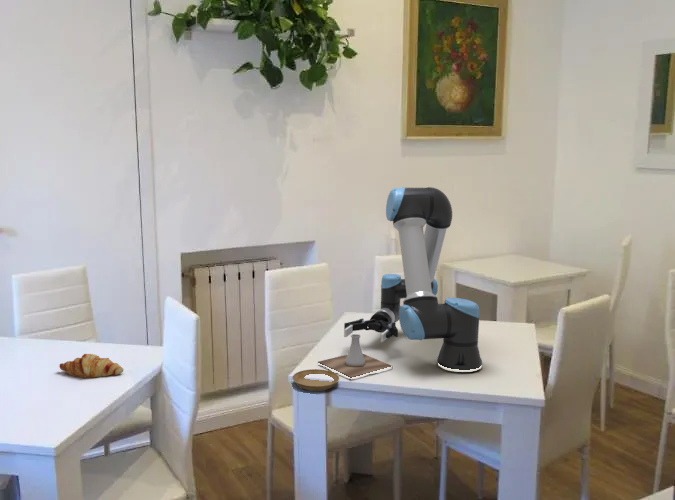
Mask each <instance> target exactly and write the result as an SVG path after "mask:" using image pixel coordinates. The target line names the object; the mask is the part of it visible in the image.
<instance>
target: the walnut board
mask: <svg viewBox="0 0 675 500" xmlns="http://www.w3.org/2000/svg"><path fill="white" fill-rule="evenodd" d="M362 354H363V357H364V360H365V363H366V364H364V365H363V366H356V367H354V366H347V365H346V364H345V363H344V362H345V360H346V357H347V355H348V354H344V355H341V356H336V357H331V358H328V359H323V360H319V361H317V364H318V363H320V364H322V365H325V366H327V367H329V368H331V369H334V370H336V371H338V372H340V373H342V374H344V375H346V376H348V377H350V378H352V377H356V376H360V375H363V374H366V373H370V372H373V371H377V370H380V369H384V368H387V367H391V366H392V365H391V364H389V363H386V362H383V361H381V360H379V359H377V358H374V357H372V356H369V355H367V354H365V353H362Z"/></svg>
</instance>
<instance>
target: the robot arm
mask: <svg viewBox="0 0 675 500" xmlns="http://www.w3.org/2000/svg"><path fill="white" fill-rule="evenodd" d="M385 216H386V220H388V221H389V222H392V225H393V226H392V227H393V229H395V230H396V231H398V237H399V246H400V253H401V260H402V267H403V276H404V278H402V276H401V275H400V274H397V273H386V274H384V275H382V276H381V284H380V309H379V310H378V311H376V312H374V313H373V314H372V315H371V317H370V319H368V320H364V318H360V319H357V320H353V321H348V322H344V323H343V324H344V325H343V326H344V327H343V328H344V329H343V337H344V338H347V337H348V336H351V335H352V334H353V333H354V332H356V331H363V330H365V331H375V332H376V333H379V334H380V333H381V334H380V343H384V342H385V341H386V340H387V339H390V338H392V337H394V338H398V337H399V329H398V327H397V326H396V325H397V324H396V323H397V322H398V321H399V325H400V328H401V329H400V330H401V331H402V333H403V336H405V338H407V339H409V340H414V341H415V340H419V341H423V340H433V339H435V340H436V339H437V340H438V339H443V340H442V342H443V343H442V345H441V348H440V350H439V354H438V356H437V358H436V359H437V362H438V363H439V364H440V365H442V366H444V367H447V368H451V369H459V370H470V369H476V368H479V367H480V366H481V365H482V366H483V359H482V357H481V354H480V349H479V329H480V328H479V327H480V318H481V317H480V307H479V305H478V304H477V303H476V302H475V301H472V300H469V299H464V298H459V297H446V298H445V300H444V303H439V299H438V296H437V294H438V290H439V289H438V287H439V285H438V281H437V280H436V278H435V275H436V271H437V268H438V265H439V260H440V255H441V252H442V248H443V245H444V242H445V241H444V239H445V237H446V232H447V230H448V229H449V228H450V227H451V225H452V220H453V208H452V204H451V202H450V200H449V197H448V196H447V195H446V194H445V193H444V192H443V191H442V190H441V189H438V188H436V187H431V186H430V187H429V186H428V187H405V186H403V187H394V188H393V189H391V190H390V192H389V193H388V195H387V199H386V205H385ZM424 227H425V229H424ZM401 299H404V300H403V301H402V305H401ZM437 362H436V363H437Z"/></svg>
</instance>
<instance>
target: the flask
mask: <svg viewBox="0 0 675 500" xmlns="http://www.w3.org/2000/svg"><path fill="white" fill-rule="evenodd" d="M350 338H351V343H350V346H349V350H348V353H347V354H346V355H347V357H346V360H345V362H344V363H345V364H346V365H347V366H354V367H356V366H363V365H364V364H366V363H365V360H364V357H363V354H364V353H363V352H362V348H361V343H360V338H361V335H360V334H359V333H358V334H356V333H354V334H353V333H351V334H350Z"/></svg>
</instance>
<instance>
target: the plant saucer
mask: <svg viewBox="0 0 675 500" xmlns="http://www.w3.org/2000/svg"><path fill="white" fill-rule="evenodd" d="M309 374H325V375H328V376H330V377H332V378H333V379H334V381H332V382H329V381H319V380H310V379H305V378H304V377H305V376H306V375H309ZM291 378H292V381H293V383H295V384H296V385H297V386H298V387H299V388H301V389H303V390H306V391H311V392H321V391H326V390H330V389H331V388H332V387H334V386H335V385H336V384H337V383H338V382H339V381H340V375H338V374H336V373H334V372H332V371H329V370H327V369H318V368H317V369H316V368H314V369H313V368H312V369H305V370H304V369H303V370H300V371H298V372H296V373H294V374H293V375H292V377H291Z"/></svg>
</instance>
